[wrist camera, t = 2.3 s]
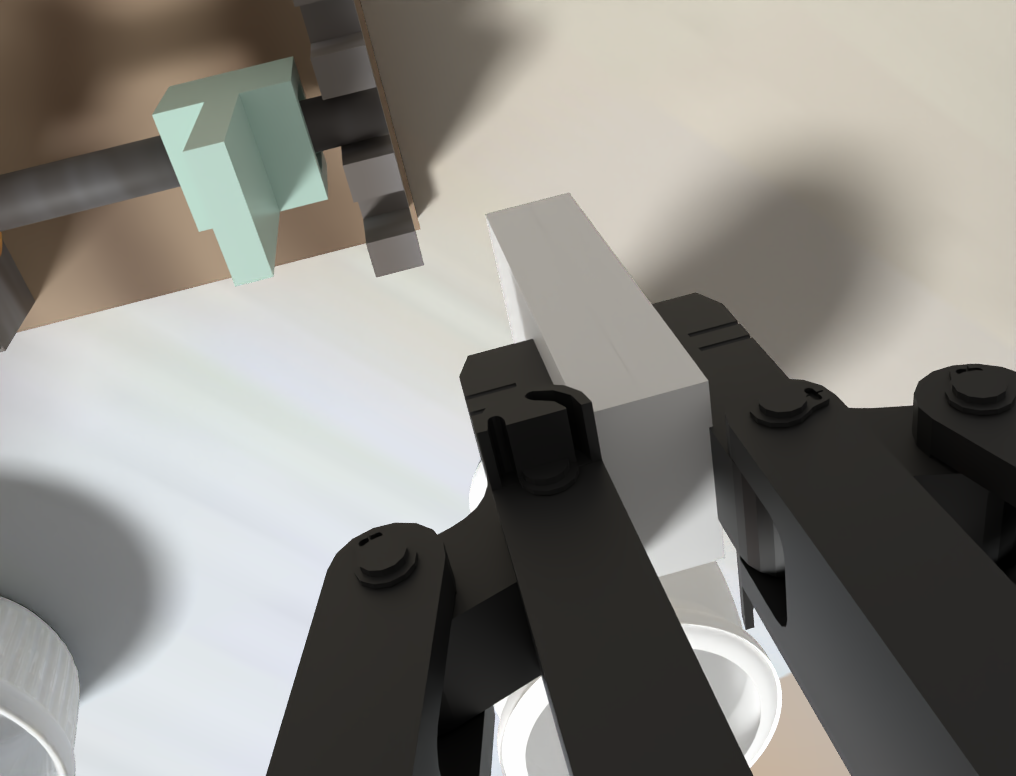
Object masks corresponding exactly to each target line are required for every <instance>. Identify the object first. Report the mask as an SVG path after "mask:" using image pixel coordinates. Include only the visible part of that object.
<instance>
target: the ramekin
mask: <svg viewBox="0 0 1016 776" xmlns="http://www.w3.org/2000/svg"><path fill="white" fill-rule="evenodd" d="M79 695H80V683H79V679H78V671H77V668H76V666H75V664H74V660H73V657H72V655H71V654H70V652H69V651H68V649H67V646H66V644H65V643H64V642H63V641H62V640H61V639H60V638H59V636H58V635H57V633H56V632H55V631H53V629H52V628H51V627H50V626H49V625H48V624H47V623H45V622H44V621H43V620H42V619H41V618H39V617H38V616H37V615H36V614H34V613H33V612H31V611H30V610H28V609H27V608H25V607H23V606H21V605H19V604H17V603H15V602H13V601H11V600H9V599H6V598H4V597H1V596H0V776H75V771H76V768H75V756H74V744H75V737H76V729H77V721H78V709H79Z"/></svg>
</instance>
